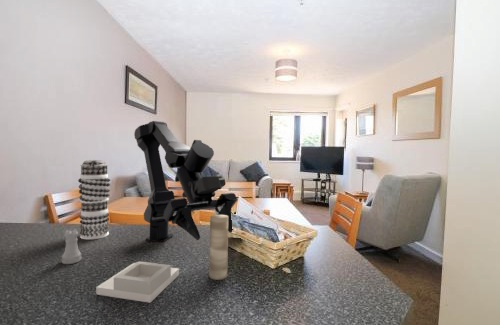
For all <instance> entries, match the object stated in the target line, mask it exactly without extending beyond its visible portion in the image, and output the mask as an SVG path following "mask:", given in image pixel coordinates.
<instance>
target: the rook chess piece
mask: <svg viewBox="0 0 500 325" xmlns="http://www.w3.org/2000/svg"><path fill="white" fill-rule="evenodd" d="M64 232H65V233H64V234H63V236H64V238H65V241H64V242H65V249H64V252H63V254H62V255H61V261H60V262H61V263H62V264H63V265H73V264H76V263H78V262H80V261H81V260H82V258H83V257H82V252H80V249H79V247H78V240H79V239H78V235H79V234H80V232H78V229H76V228H73V230H72V229H69V230H68V229H67V230H65V231H64Z"/></svg>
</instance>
